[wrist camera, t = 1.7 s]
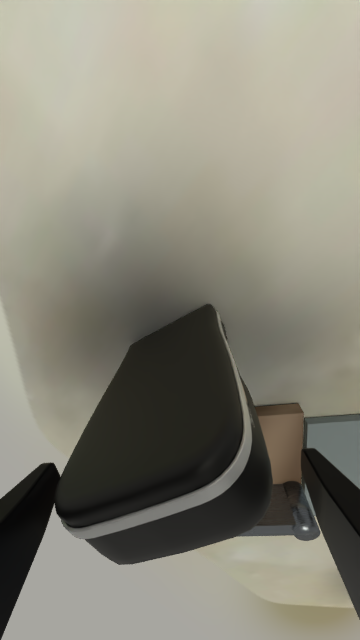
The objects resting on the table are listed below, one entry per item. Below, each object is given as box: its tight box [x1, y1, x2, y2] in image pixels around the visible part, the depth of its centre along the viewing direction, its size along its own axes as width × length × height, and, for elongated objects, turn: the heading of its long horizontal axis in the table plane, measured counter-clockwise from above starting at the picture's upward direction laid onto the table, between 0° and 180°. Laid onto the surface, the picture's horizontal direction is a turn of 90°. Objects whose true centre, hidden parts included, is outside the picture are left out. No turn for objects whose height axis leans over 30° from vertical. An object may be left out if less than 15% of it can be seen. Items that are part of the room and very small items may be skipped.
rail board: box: [255, 403, 304, 484], centre depth 20 cm, size 11×10×1 cm
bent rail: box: [238, 481, 320, 541], centre depth 18 cm, size 9×8×3 cm
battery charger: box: [54, 305, 273, 565], centre depth 12 cm, size 7×4×11 cm, turn 121°
